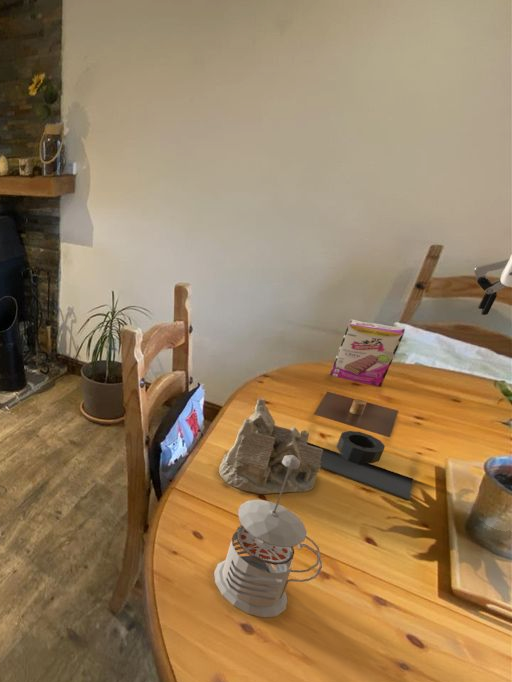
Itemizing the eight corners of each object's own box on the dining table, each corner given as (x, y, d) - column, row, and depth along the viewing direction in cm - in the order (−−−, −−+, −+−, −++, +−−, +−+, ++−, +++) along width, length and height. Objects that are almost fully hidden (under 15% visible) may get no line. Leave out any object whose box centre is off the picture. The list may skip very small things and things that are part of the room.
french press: (217, 549, 69) (249, 426, 58) (300, 578, 64) (354, 449, 52) (210, 598, 62) (246, 468, 50) (304, 636, 56) (367, 500, 45)
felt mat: (418, 453, 87) (419, 452, 87) (408, 500, 76) (409, 499, 76) (315, 421, 99) (316, 420, 98) (294, 458, 88) (295, 456, 88)
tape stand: (396, 414, 99) (403, 399, 97) (388, 441, 91) (395, 426, 89) (325, 395, 108) (330, 381, 106) (312, 418, 100) (317, 403, 98)
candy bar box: (328, 379, 115) (347, 324, 108) (331, 372, 119) (349, 318, 111) (380, 391, 108) (404, 333, 101) (382, 383, 112) (405, 327, 104)
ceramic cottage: (207, 473, 85) (228, 412, 78) (240, 440, 94) (261, 384, 87) (293, 519, 75) (325, 454, 68) (320, 477, 84) (351, 417, 77)
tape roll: (380, 453, 87) (386, 440, 85) (375, 470, 83) (381, 456, 81) (339, 440, 92) (344, 427, 90) (332, 455, 87) (337, 442, 86)
